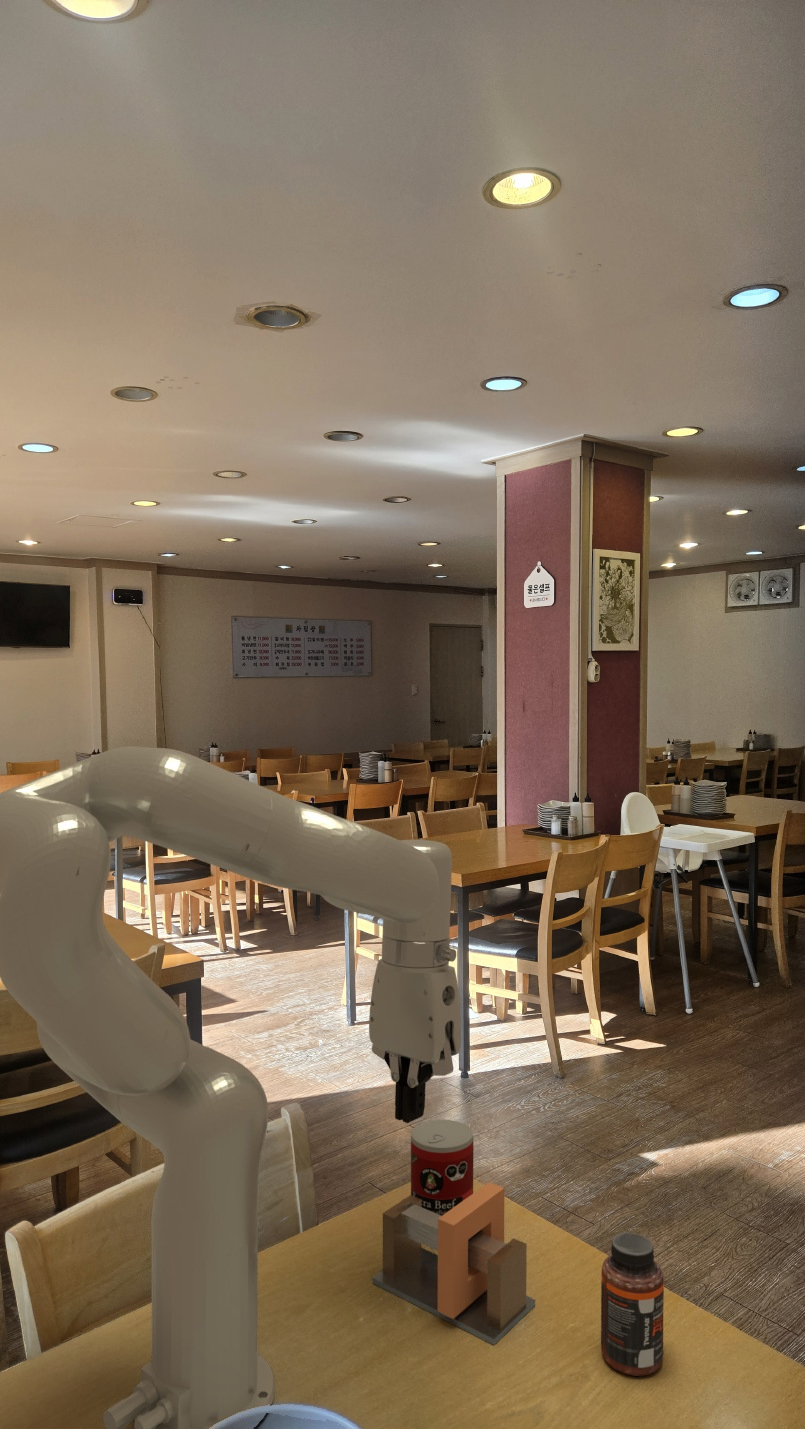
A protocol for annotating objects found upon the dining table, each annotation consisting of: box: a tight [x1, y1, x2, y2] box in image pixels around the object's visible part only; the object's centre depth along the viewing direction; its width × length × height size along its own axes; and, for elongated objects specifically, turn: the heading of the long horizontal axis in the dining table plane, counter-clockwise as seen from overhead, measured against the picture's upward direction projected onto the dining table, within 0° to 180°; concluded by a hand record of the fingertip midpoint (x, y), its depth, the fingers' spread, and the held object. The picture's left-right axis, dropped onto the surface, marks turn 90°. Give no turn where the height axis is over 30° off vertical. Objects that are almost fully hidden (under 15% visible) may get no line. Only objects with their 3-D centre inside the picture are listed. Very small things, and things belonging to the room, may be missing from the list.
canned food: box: [410, 1119, 474, 1216], centre depth 116 cm, size 8×8×11 cm
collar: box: [437, 1181, 505, 1319], centre depth 99 cm, size 2×10×10 cm, turn 141°
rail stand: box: [371, 1194, 536, 1346], centre depth 101 cm, size 16×8×7 cm, turn 51°
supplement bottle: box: [600, 1232, 665, 1377], centre depth 91 cm, size 6×6×11 cm
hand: (409, 1117), depth 104 cm, fingers closed
